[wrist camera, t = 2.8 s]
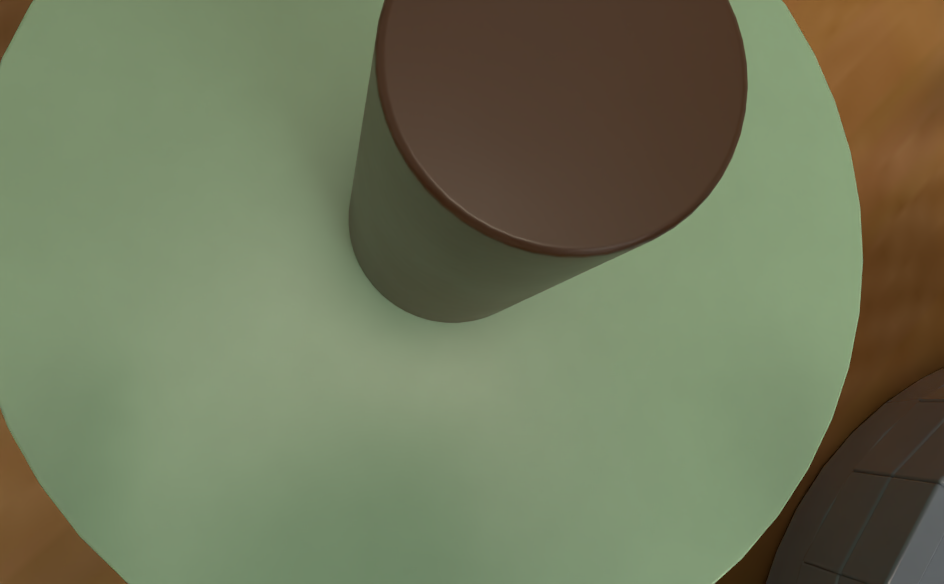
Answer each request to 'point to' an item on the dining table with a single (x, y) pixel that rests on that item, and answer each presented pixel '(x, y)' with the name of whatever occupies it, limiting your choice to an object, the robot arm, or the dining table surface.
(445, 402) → the lid
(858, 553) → the pan
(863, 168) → the dining table surface
